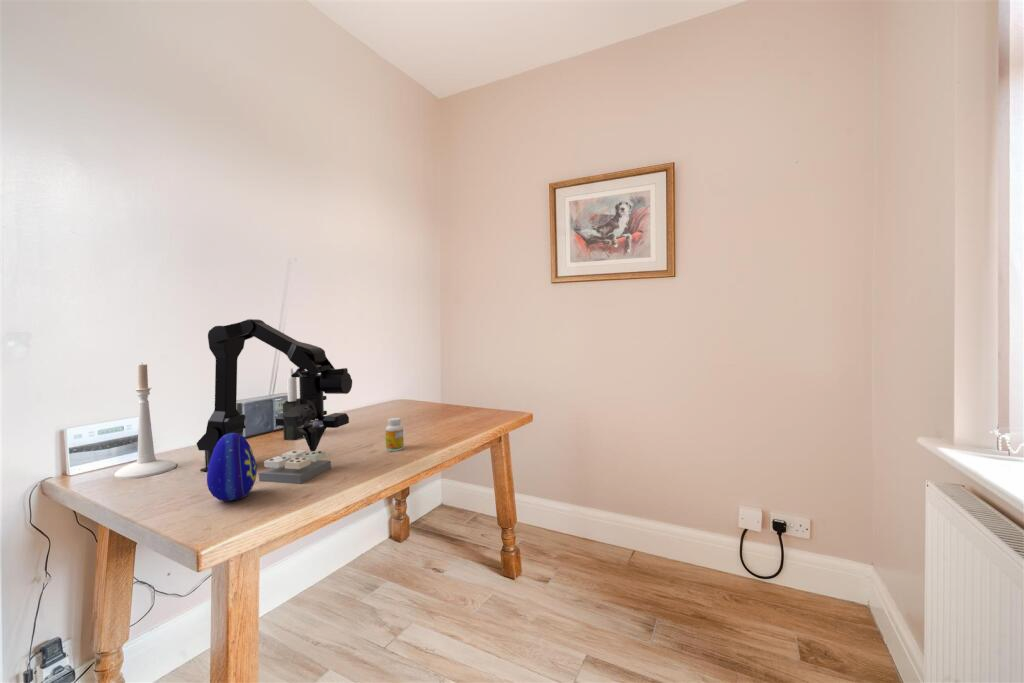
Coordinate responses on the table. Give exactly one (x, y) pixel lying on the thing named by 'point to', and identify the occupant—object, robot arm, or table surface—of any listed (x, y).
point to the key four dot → (297, 463)
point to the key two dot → (276, 462)
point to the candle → (292, 396)
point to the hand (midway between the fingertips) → (313, 451)
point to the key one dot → (294, 453)
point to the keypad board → (295, 473)
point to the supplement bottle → (394, 435)
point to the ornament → (231, 468)
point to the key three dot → (314, 455)
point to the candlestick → (144, 438)
